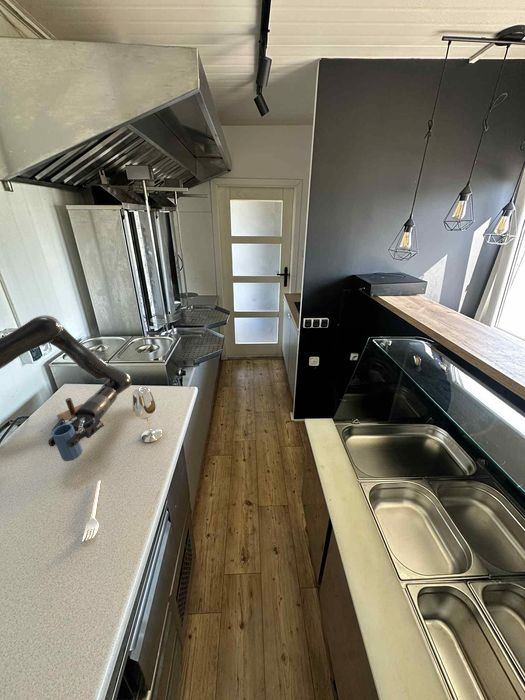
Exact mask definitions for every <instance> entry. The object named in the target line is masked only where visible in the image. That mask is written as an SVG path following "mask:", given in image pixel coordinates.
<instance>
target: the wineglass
mask: <svg viewBox="0 0 525 700" xmlns="http://www.w3.org/2000/svg"><path fill="white" fill-rule="evenodd" d="M131 396H132V398H131V399H132V410H133V414H134V416H135V417H136V418H138V419H139V420H146V423H147V426H148V429H146V430H145V431H144V432H143V433H141V435H140V440H141V442H144V443H152V442H156V441H157V440H159V439H160V438H161V437H162V436H163V431H162V430H161V428H158V427H151V422H150V419H151V418H152V417H154V415H155V414H156V412H157V409H158V408H157V403H156V399H155V398H154V396H153V394H152V392H151V390H150V388H149V387H145V386H143V387H138V388H136V389H134V390H133V391H132V395H131Z"/></svg>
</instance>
